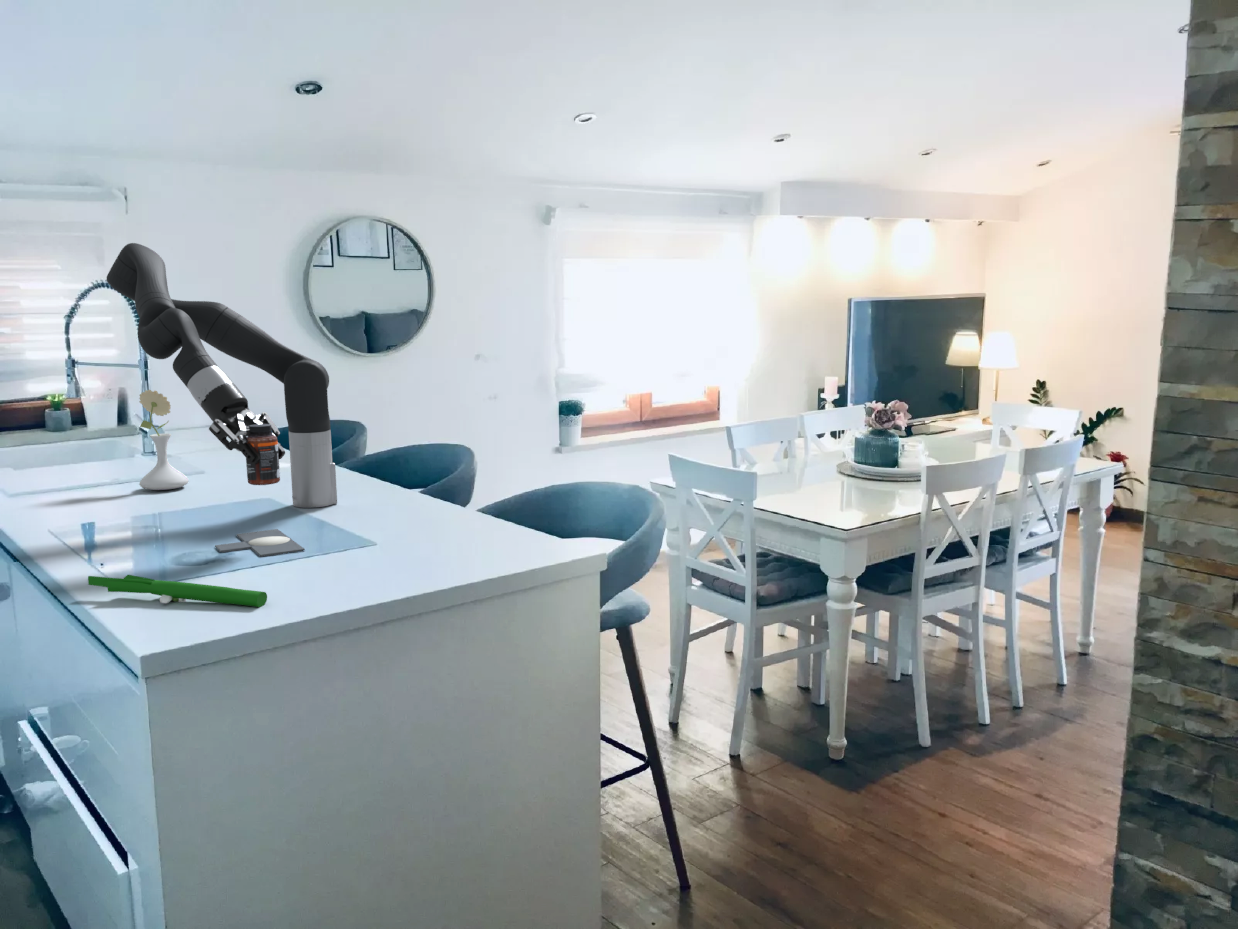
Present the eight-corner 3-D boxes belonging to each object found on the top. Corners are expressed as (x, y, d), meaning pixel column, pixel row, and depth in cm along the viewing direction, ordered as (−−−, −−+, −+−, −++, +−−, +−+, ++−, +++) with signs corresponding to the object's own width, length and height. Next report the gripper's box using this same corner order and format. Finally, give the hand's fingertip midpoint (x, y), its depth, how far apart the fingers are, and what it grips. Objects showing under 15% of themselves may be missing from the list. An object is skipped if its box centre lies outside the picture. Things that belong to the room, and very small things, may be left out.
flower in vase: (198, 487, 251) (191, 389, 247) (157, 494, 241) (148, 392, 237) (168, 482, 258) (160, 387, 254) (126, 489, 248) (117, 390, 244)
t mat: (277, 530, 202) (277, 528, 202) (304, 550, 185) (304, 548, 185) (207, 539, 195) (207, 537, 195) (229, 561, 178) (229, 558, 178)
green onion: (269, 608, 154) (99, 588, 159) (268, 587, 153) (98, 568, 159) (251, 618, 149) (77, 597, 155) (251, 597, 148) (76, 577, 154)
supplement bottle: (287, 481, 191) (283, 423, 189) (264, 487, 186) (260, 427, 184) (263, 479, 194) (260, 422, 192) (240, 484, 188) (236, 425, 187)
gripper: (235, 404, 199) (285, 466, 196) (178, 412, 186) (232, 478, 183) (254, 378, 196) (305, 441, 193) (198, 384, 183) (252, 451, 180)
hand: (269, 458), depth 188 cm, fingers closed on supplement bottle, 6 cm apart
